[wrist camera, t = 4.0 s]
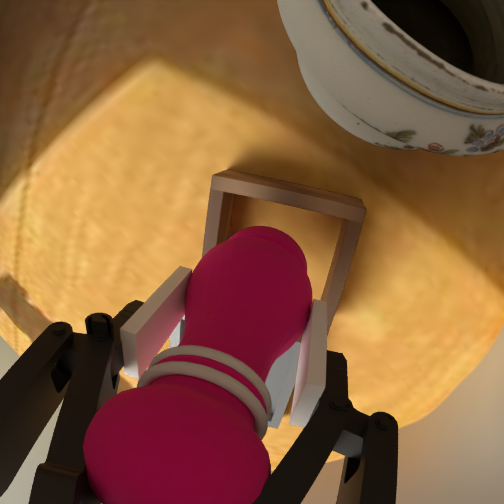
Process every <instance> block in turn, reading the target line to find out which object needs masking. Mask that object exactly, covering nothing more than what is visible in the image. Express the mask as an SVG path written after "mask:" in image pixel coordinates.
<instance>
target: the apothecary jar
mask: <svg viewBox="0 0 504 504" xmlns="http://www.w3.org/2000/svg"><path fill="white" fill-rule="evenodd" d="M277 3H278V7H279V11H280V15H281V18H282V21H283V24H284V27H285V29H286V32H287V34H288V36H289V38H290V41H291V42H292V44H293V46H294V48H295V50H296V51H297V58H298V63H299V67H300V71H301V74H302V77H303V79H304V81H305V83H306V86H307V88H308V89H309V91H310V93H311V95H312V96H313V98H314V99H315V101H316V102H317V103H318V105H319V106H320V107H321V108H322V109H323V111H324V112H325V113H326V114H327V115H328V116H329V117H330V118H331V119H332V120H334V121H335V122H336V123H337V124H338V125H340V126H341V127H342V128H344V129H345V130H347V131H348V132H350V133H351V134H353V135H355V136H356V137H358V138H360V139H362V140H364V141H367V142H369V143H371V144H374V145H378V146H381V147H386V148H391V149H397V150H415V149H423V150H426V151H430V152H434V153H439V154H445V155H454V156H475V155H482V154H490V153H495V152H498V151H501V150H504V0H277Z"/></svg>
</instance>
